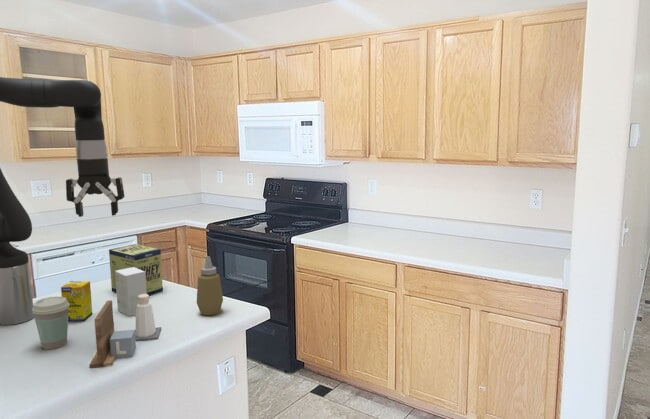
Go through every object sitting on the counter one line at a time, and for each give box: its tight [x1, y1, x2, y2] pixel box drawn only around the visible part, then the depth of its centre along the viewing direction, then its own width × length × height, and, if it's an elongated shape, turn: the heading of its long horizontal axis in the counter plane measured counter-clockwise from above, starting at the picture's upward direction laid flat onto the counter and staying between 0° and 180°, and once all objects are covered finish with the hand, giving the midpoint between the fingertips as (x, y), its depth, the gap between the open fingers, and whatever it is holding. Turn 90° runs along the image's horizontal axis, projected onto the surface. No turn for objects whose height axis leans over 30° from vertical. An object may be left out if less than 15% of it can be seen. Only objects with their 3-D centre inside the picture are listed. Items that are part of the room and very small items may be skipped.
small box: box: [115, 267, 147, 317], centre depth 147 cm, size 8×6×13 cm
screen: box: [89, 299, 117, 369], centre depth 118 cm, size 5×13×12 cm, turn 13°
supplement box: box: [60, 280, 93, 323], centre depth 141 cm, size 6×6×11 cm
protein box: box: [108, 243, 164, 297], centre depth 165 cm, size 10×16×16 cm
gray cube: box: [110, 329, 137, 359], centre depth 119 cm, size 5×5×5 cm
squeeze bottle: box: [196, 255, 224, 316], centre depth 145 cm, size 8×8×18 cm
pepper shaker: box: [134, 294, 157, 337], centre depth 129 cm, size 5×5×11 cm
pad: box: [135, 326, 162, 342], centre depth 130 cm, size 7×7×1 cm
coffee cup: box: [32, 296, 69, 350], centre depth 123 cm, size 8×9×12 cm
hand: (97, 215), depth 130 cm, fingers open, 8 cm apart
